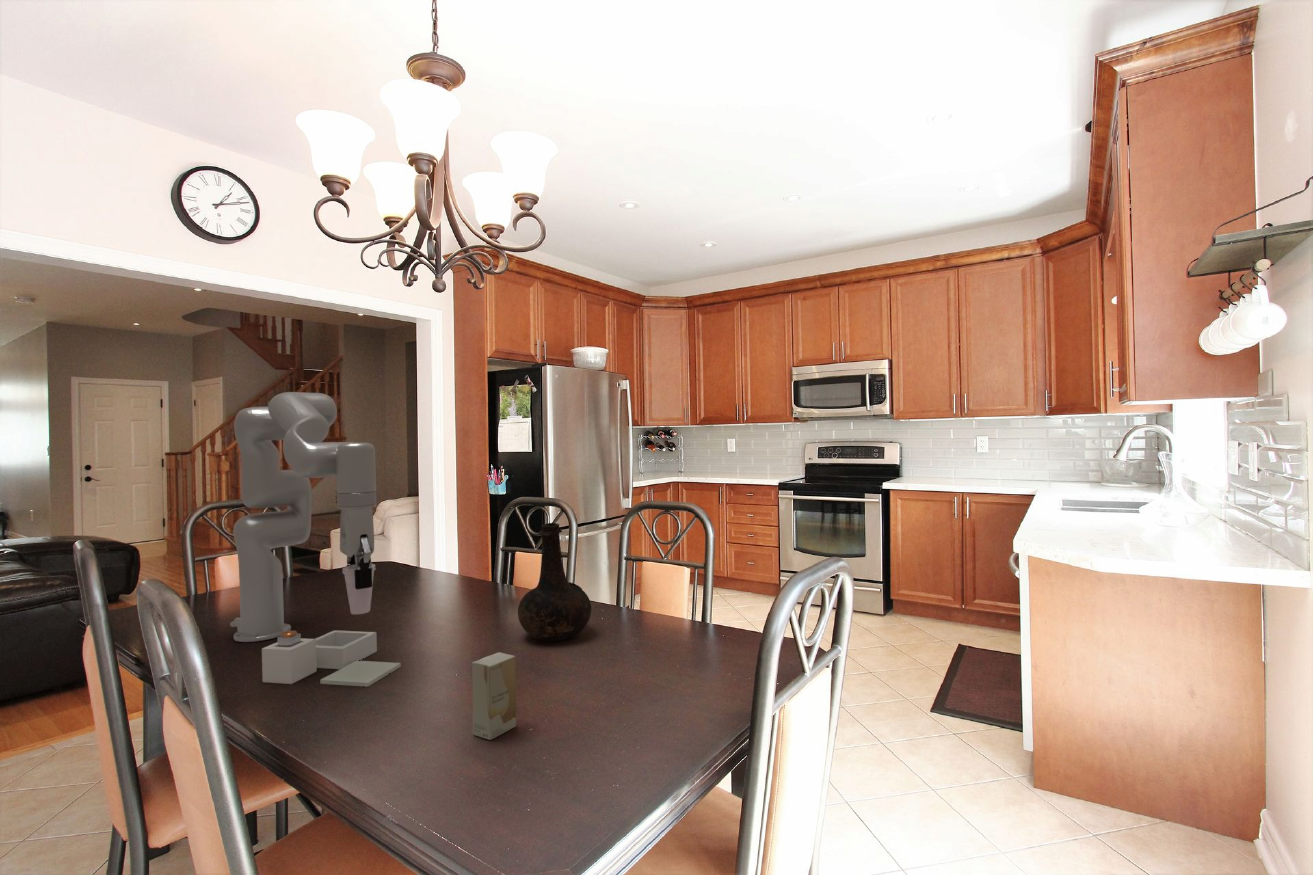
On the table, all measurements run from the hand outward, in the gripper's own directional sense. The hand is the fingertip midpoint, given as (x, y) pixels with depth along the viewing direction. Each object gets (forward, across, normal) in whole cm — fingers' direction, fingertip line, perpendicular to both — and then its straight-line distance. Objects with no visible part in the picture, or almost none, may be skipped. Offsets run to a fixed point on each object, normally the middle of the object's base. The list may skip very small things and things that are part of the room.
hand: (359, 584), depth 132 cm
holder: (+19, -14, -2) cm, 24 cm away
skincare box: (+20, +43, +11) cm, 48 cm away
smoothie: (+6, 0, 0) cm, 6 cm away
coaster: (+19, 0, 0) cm, 19 cm away
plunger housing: (+19, -10, -12) cm, 25 cm away
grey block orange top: (+16, -10, -12) cm, 22 cm away
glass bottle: (+20, +5, +44) cm, 48 cm away
